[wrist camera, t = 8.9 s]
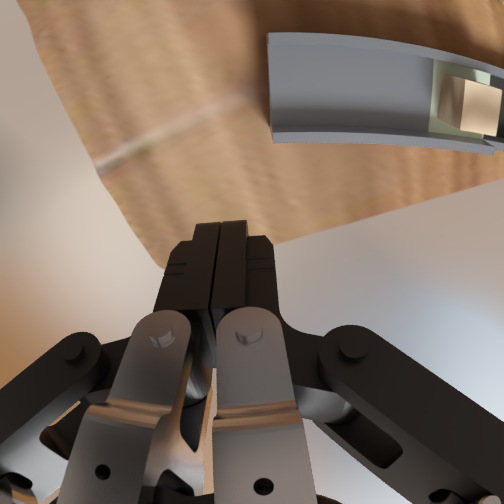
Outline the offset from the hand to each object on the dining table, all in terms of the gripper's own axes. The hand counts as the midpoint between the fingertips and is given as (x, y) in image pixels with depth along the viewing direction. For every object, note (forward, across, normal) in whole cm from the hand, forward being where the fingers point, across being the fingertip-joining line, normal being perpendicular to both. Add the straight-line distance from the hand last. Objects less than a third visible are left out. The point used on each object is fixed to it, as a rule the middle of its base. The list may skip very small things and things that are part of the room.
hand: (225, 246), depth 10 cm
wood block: (+22, -23, -2) cm, 32 cm away
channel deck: (+25, -19, -2) cm, 31 cm away
